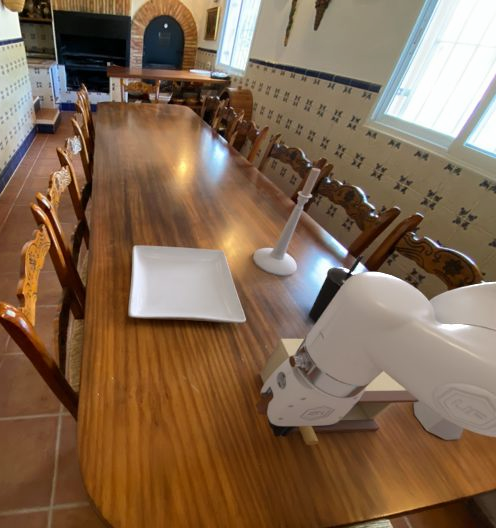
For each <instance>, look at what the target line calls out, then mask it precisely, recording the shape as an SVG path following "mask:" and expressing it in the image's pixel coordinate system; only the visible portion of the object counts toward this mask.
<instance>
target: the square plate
mask: <svg viewBox="0 0 496 528" xmlns="http://www.w3.org/2000/svg"><path fill="white" fill-rule="evenodd" d="M131 255H132V256H131V257H132V258H131V276H130V277H131V280H130V290H129V297H128V298H129V300H128V309H127V310H128V311H127V312H128V317H129V318H133V319H143V320H145V319H146V320H183V321H201V322H212V323H224V324H243V323H246V321H247V318H246V316H245V312H244V309H243V306H242V303H241V301H240V297H239V294H238V292H237V288H236V286H235V281H234V279H233V276H232V272H231V269H230V266H229V263H228V259H227V256H226V254H225V251H223V250H219V249H208V248H207V249H206V248H194V247H193V248H192V247H178V246H163V245H162V246H161V245H134V246H132V253H131Z"/></svg>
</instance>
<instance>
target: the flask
mask: <svg viewBox="0 0 496 528" xmlns="http://www.w3.org/2000/svg"><path fill="white" fill-rule="evenodd" d="M412 403H413V413H414V414H413V415H414V416H415V418H417V420H418V422H420V424H421V425H422V427H423V428H424V429H425V431H426V432H429V433H430V434H433V435H435V436H437V437H439V438H441V439H443V440H445V441H451V440H452V441H453V440H460V439H461V436H462V434H463V432H464V430H465V429H464V428H462V427H460V426H458V425H456V424H454V423H452V422H450V421H448V420H446V419H445V418H443V417H441V416H440V415H438V414H437V413H435V412H434V411H432V410H431V409H430V408H428V407H427V406H426V405H424V404H423V403H422V402H420V401H418V402H412Z"/></svg>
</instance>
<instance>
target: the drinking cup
mask: <svg viewBox="0 0 496 528" xmlns="http://www.w3.org/2000/svg"><path fill="white" fill-rule="evenodd" d="M363 258H364V255H362V254H359V255H358V257H357V259H356V260H355V262H354V263H353V264H352V266H351V267H350V269H348V268H344V267H340V266H334V267H330V268H329V269H328V270H327V272H326V277H325V279H324V281H323V283H322V285H321V288H320V290H319V291H318V293H317V296H316V298H315V300H314V302H313V303H312V306H311V308H310V311H309V312H308V316H309V318H310V320H311V321H313V322H314V324H316V322H317V321H318V319H319V318H320V317H321V315H322V314H323V312H324V311H325V309H326V308H327V307H328V305H329V304H330V302H331V301H332V299H333V298H334V296H335V295H336V294H337V292H338V291H339V289H340V288H341V286H342V285H343V284H344V283H345V282H346V280H348V279H349V278H350V277H352V276H353V275H356V274H357V273H356V272H355V270H356V268H357V266H359V263H360V262H361V261H362V259H363Z"/></svg>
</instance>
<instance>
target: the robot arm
mask: <svg viewBox="0 0 496 528" xmlns="http://www.w3.org/2000/svg"><path fill="white" fill-rule="evenodd" d="M303 339H304V341H303V342H302V343H301V345H300V346H299V348H298V349H297V351H296V353H295V355H292V356H290V357H289V358H288V359H287V360H285V361H284V362H283V363H282V364H281V365H280V366H279V367H278V368H277V369H276V370H275V371H274V372H273V374H272V375H271V376H270V377H269V378H268V380H267V381H266V382H265V384H264V383H263V385H262V387H261V389H260V393H259V395H260V396H262V397H263V398H262V399H261V400H260V401H258V402H257V403H255V407H256V410H257V413H258V415H261V416H262V415H263V416H267V418H268V419H267V421H268V425H269V428H270V429H271V430H272V431H273V434H274V436H275V437H276V438H280V437H283V438H286V437H287V436H288V435H289V434H291V433H290V432H291V431H292V430H293V429H294V428H295V426H320V425H331V424H335V423H337V422H338V421H339V420H340V419H342V418H343V417H344V416H345V415H346V414H347V413H348V412H349V411H350V410H351V409H352V407H353V406H354V405H355V404H356V403H357V402H358V400H359V399H360V398H361V396H362V395H363V393H364V391H365V389H366V386H368V385H369V384H370V383H371V382H372V381H373V380H374V379H375V378H376V377H377V376H378V375H380V374H381V373H382V372H383V371H384V372H385V373H386V374H387V375H389V376H390V377H391V378H392V379H394V380H395V381H396V382H397V383H398V384H400V385H401V386H402V387H403V388H405V389H406V390H407V391H408V392H409V393H411V394H412V395H413V396H414V397H415V398H417V399H418V400H419V401H420V402H422V403H423V404H424V405H426V406H427V407H428V408H430V409H431V410H432V411H434V412H435V413H437V414H438V415H440V416H441V417H443V418H445V419H446V420H448V421H450V422H452V423H454V424H456V425H458V426H460V427H462V428H464V429H463V430H467V431H470V432H472V433H475V434H478V435H482V436H484V437H485V436H486V437H491V438H496V281H492V282H483V283H477V284H472V285H466V286H461V287H457V288H454V289H451V290H447V291H444V292H442V293H439V294H438V295H435V296H433V297H432V298H430V299H428V298H427V296H425V294H424V293H422V292H421V291H420V290H419V289H418V288H416V287H414V286H413V285H412V284H410V283H408V282H407V281H405V280H404V279H403V280H402V279H400V278H398V277H396V276H394V275H390V274H387V273H383V272H377V271H363V272H359V273H356V275H353V276H352V277H350V278H349V279H348V280H346V282H345V283H344V284H343V285H342V286H341V288H340V289H339V291H338V292H337V294H336V295H335V296H334V298H333V299H332V301H331V302H330V304H329V305H328V307H327V308H326V309H325V311H324V312H323V314H322V315H321V317H320V318H319V319H318V321H317V322H316V323H314V325H313V326H312V328H311V329H310V331H309V332H308V334H307V335H306V336H305V338H303Z"/></svg>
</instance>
